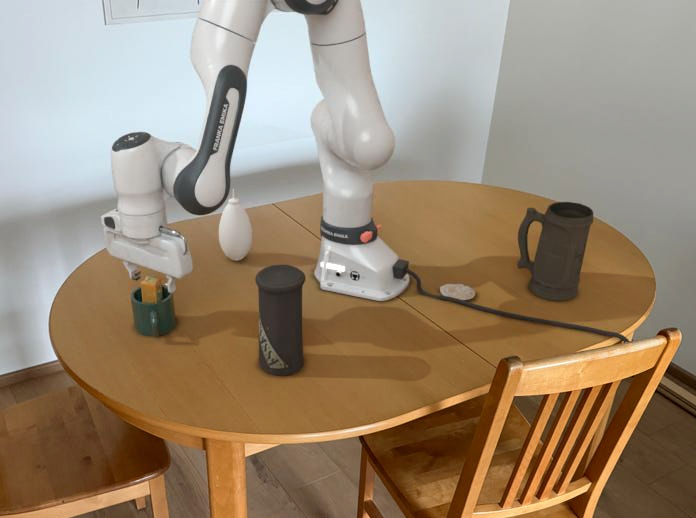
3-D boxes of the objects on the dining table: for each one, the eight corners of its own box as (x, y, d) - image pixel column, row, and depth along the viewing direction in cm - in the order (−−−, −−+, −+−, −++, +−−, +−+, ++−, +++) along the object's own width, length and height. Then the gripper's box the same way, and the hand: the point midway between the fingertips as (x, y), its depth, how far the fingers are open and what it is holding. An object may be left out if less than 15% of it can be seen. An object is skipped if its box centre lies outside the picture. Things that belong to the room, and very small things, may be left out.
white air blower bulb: (239, 269, 170) (236, 197, 160) (214, 260, 174) (209, 190, 164) (259, 257, 176) (257, 187, 166) (234, 249, 179) (230, 180, 169)
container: (257, 352, 141) (254, 261, 130) (302, 350, 142) (303, 260, 130) (258, 378, 134) (255, 284, 123) (306, 376, 134) (307, 282, 123)
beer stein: (583, 285, 165) (597, 202, 154) (577, 305, 157) (591, 220, 146) (515, 275, 171) (525, 195, 160) (506, 295, 163) (515, 212, 152)
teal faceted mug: (135, 317, 152) (130, 285, 148) (174, 313, 153) (171, 282, 149) (135, 346, 142) (130, 314, 138) (178, 342, 144) (174, 310, 140)
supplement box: (160, 327, 147) (155, 284, 141) (144, 325, 148) (138, 282, 142) (166, 318, 150) (161, 276, 144) (150, 317, 150) (145, 274, 145)
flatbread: (476, 288, 163) (477, 285, 162) (473, 304, 157) (473, 300, 157) (441, 283, 165) (441, 279, 164) (436, 298, 159) (436, 294, 159)
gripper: (196, 227, 133) (202, 291, 141) (117, 204, 143) (128, 266, 151) (173, 239, 129) (181, 305, 137) (94, 215, 138) (106, 278, 146)
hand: (153, 284), depth 144 cm, fingers open, 8 cm apart
